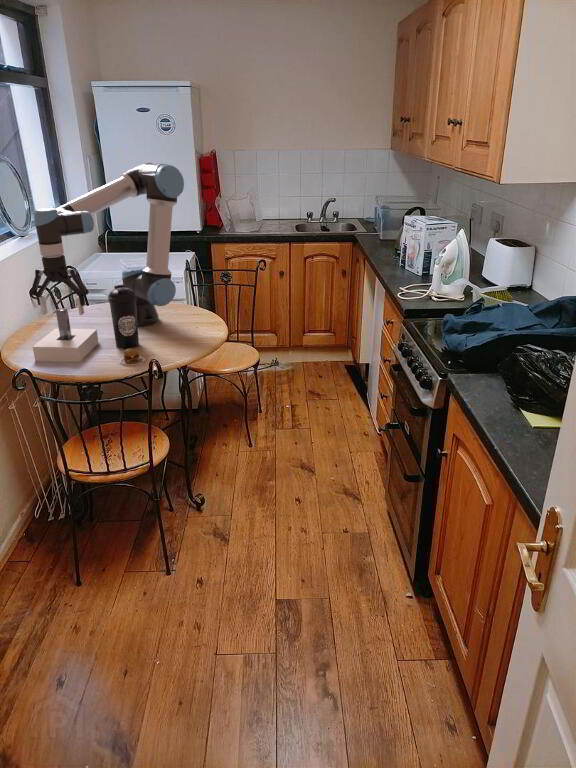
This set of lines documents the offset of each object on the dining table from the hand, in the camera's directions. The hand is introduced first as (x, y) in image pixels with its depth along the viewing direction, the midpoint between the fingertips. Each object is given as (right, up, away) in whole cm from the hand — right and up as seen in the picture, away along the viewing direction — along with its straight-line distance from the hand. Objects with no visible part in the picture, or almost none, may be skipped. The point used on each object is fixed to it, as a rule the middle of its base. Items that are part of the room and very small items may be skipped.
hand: (63, 314), depth 203 cm
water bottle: (+20, -11, +13) cm, 26 cm away
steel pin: (-1, -11, +5) cm, 12 cm away
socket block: (-1, -13, +6) cm, 15 cm away
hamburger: (+25, -18, -2) cm, 31 cm away
